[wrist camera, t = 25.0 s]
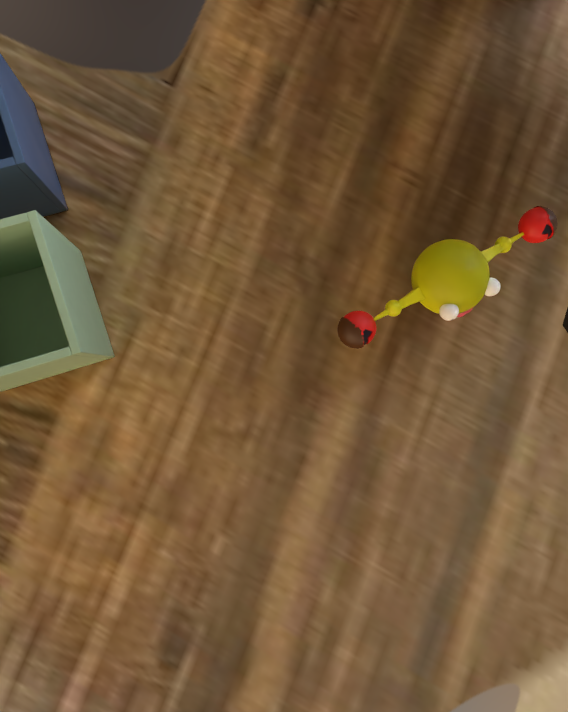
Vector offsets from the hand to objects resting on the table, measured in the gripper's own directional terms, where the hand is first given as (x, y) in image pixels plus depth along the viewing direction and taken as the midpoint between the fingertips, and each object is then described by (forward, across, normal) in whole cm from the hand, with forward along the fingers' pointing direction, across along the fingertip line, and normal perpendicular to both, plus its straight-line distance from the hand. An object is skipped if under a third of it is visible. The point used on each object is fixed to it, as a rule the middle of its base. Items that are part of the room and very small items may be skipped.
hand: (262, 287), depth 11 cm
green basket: (+22, -18, -14) cm, 32 cm away
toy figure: (+27, +10, -17) cm, 33 cm away
